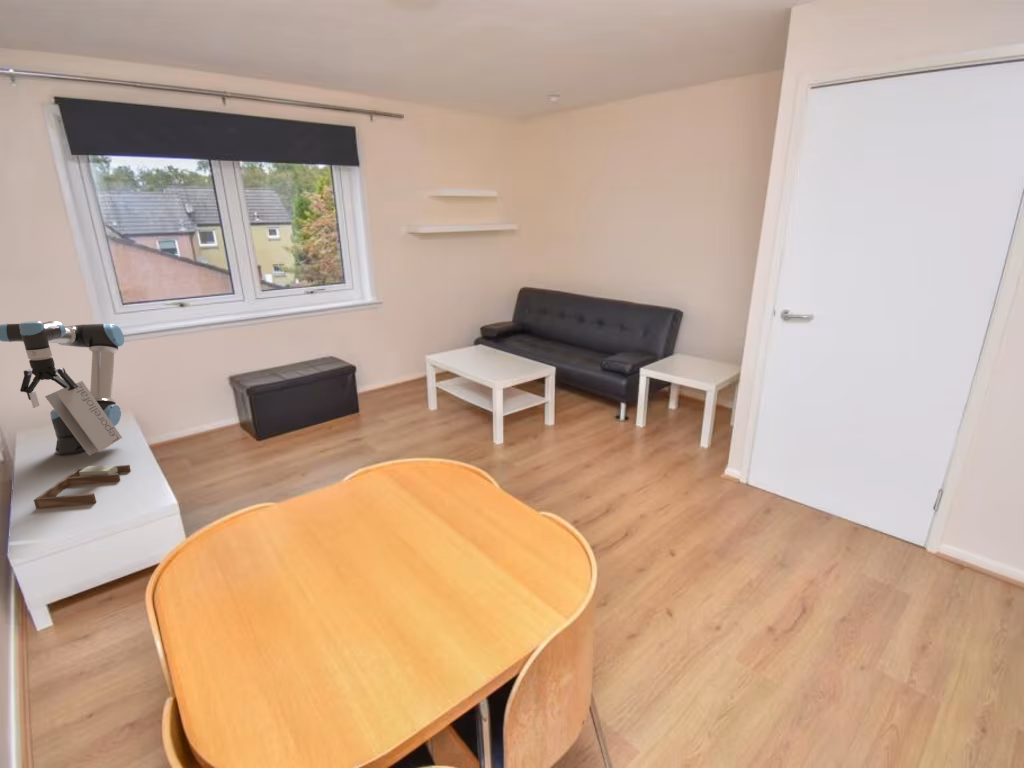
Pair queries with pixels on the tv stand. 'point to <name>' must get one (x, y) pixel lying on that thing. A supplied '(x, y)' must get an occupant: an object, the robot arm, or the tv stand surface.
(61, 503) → the rack
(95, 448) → the brochure
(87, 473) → the offcut upper
